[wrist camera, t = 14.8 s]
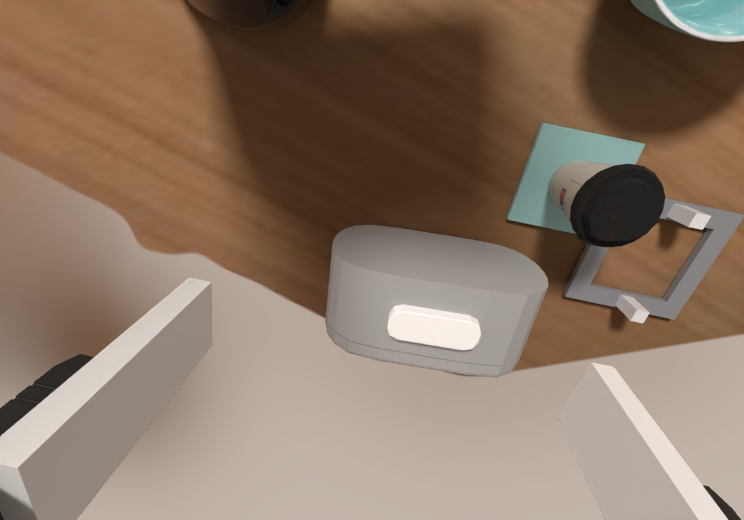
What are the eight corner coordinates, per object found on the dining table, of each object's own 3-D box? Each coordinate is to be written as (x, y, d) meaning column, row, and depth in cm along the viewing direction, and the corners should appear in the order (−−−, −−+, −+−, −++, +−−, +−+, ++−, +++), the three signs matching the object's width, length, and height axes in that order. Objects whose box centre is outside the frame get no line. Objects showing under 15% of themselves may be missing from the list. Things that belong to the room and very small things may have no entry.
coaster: (541, 122, 35) (543, 122, 34) (641, 143, 35) (645, 143, 34) (506, 217, 39) (507, 219, 39) (595, 236, 39) (597, 238, 39)
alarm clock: (337, 288, 45) (311, 359, 33) (344, 217, 41) (318, 269, 29) (499, 314, 44) (534, 397, 32) (523, 245, 40) (573, 310, 28)
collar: (614, 186, 37) (637, 197, 33) (738, 212, 37) (774, 225, 33) (562, 293, 42) (576, 311, 39) (669, 315, 42) (694, 336, 39)
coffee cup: (592, 133, 34) (658, 147, 25) (619, 192, 36) (689, 225, 27) (524, 174, 36) (562, 201, 27) (553, 228, 39) (597, 269, 30)
